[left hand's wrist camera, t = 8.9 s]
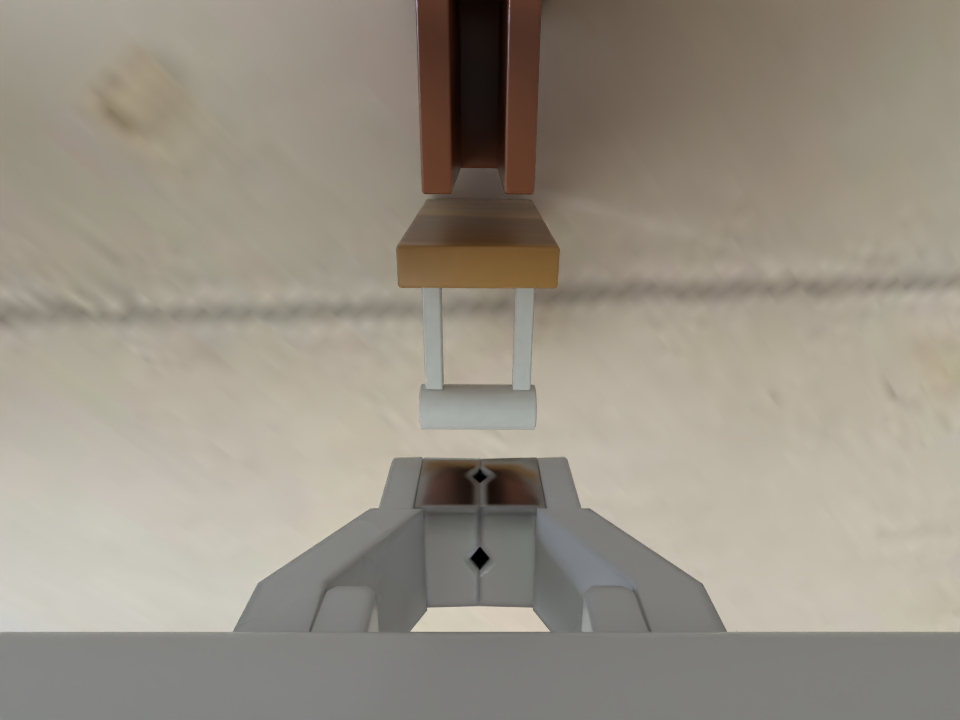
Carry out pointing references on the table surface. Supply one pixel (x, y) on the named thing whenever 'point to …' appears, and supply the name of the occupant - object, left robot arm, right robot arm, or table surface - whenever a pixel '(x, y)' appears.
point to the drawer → (478, 223)
